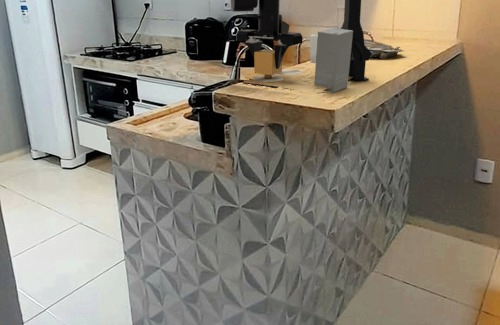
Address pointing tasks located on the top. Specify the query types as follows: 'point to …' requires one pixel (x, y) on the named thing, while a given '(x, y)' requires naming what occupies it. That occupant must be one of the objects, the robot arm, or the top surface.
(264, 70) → the tan wooden cube
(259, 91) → the top surface
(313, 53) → the white cup
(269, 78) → the pigtail post
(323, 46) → the skincare box
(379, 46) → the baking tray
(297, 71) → the board
